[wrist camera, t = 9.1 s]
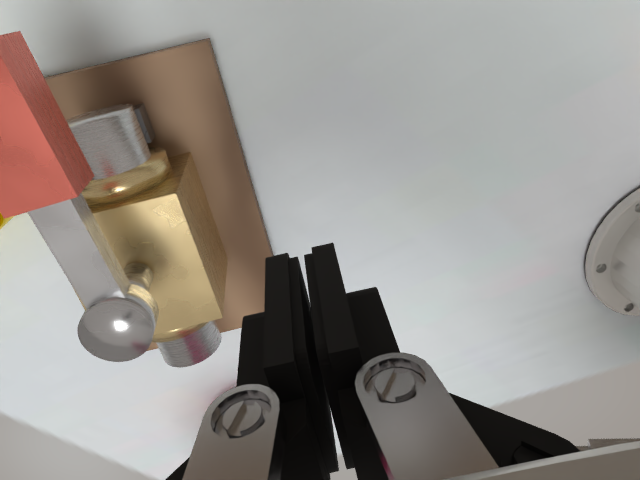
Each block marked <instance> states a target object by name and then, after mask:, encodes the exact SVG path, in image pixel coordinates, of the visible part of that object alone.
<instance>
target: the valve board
mask: <svg viewBox="0 0 640 480" xmlns="http://www.w3.org/2000/svg"><path fill="white" fill-rule="evenodd" d="M44 79H45V81H46V83H47V85H48V86H49V88H50V90H51V92H52V94H53V96H54V98H55V100H56V102H57V104H58V106H59V108H60V110H61V112H62V114H63V116H64V118H65V119H66V120H67V119H70V118H72V117H75V116H78V115H80V114H83V113H86V112H90V111H93V110H97V109H100V108H105V107H109V106H114V105H120V104H131V105H132V106H134V105H138V104H142V103H144V105H145V108H146V111H147V113H148V116H149V119H150V121H151V124H152V127H153V129H154V132H155V135H156V136H155V137H154V139H153V141H152V142H151V143H147V145H148V147H151V146H156V147H162V148H164V149H165V151H166V154H167V157H172V156H176V155H180V154H184V153H188V152H191V154H192V157H193V160H194V163H195V166H196V169H197V171H198V174H199V177H200V180H201V183H202V186H203V189H204V192H205V195H206V197H207V200H208V203H209V206H210V209H211V212H212V215H213V218H214V221H215V223H216V226H217V229H218V232H219V235H220V238H221V241H222V244H223V247H224V249H225V252H226V255H227V258H228V263H227V275H226V287H225V299H224V311H223V318H221V319H217V320H215V321H216V323H217V326H218V329H219V331H220V333H222V332H226V331H230V330H234V329H238V328H242V320H243V317H244V316H247V315H251V314H256V313H260V312H264V304H265V259H266V258H267V257H271V256H273V252H272V249H271V246H270V242H269V239H268V235H267V232H266V229H265V225H264V222H263V218H262V215H261V212H260V208H259V205H258V201H257V198H256V195H255V191H254V188H253V184H252V181H251V178H250V174H249V171H248V167H247V164H246V161H245V157H244V154H243V150H242V147H241V143H240V140H239V137H238V133H237V130H236V126H235V123H234V120H233V116H232V113H231V109H230V106H229V103H228V99H227V96H226V92H225V89H224V86H223V82H222V79H221V75H220V72H219V69H218V65H217V62H216V58H215V55H214V52H213V48H212V45H211V41H210V38H208V39H204V40H200V41H196V42H191V43H187V44H183V45H179V46H175V47H171V48H166V49H162V50H158V51H154V52H150V53H145V54H141V55H137V56H133V57H129V58H124V59H120V60H116V61H112V62H108V63H104V64H99V65H95V66H91V67H87V68H83V69H78V70H74V71H70V72H66V73H62V74H58V75H53V76H49V77H45V78H44ZM157 348H158V346H157V343H154V342H151V344H150V346H149V348H148V349H147V350H146V351H149V350H153V349H157Z"/></svg>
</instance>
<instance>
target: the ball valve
mask: <svg viewBox="0 0 640 480" xmlns="http://www.w3.org/2000/svg"><path fill="white" fill-rule="evenodd" d="M66 121H67V123H68V125H69V127H70V129H71V131H72V133H73V135H74V137H75V139H76V141H77V143H78V145H79V147H80V149H81V150H82V152H83V154H84V156H85V158H86V160H87V162H88V164H89V166H90V168H91V170H92V172H93V174H94V177H93V179H92V180H91V181H90V182H89V184H88V185H87V186H86V187H85V188H84V190H83V191H82V192H81V193H82V195H83V197H84V199H85V200H86V202H87V204H88V206H89V208H90V210H91V212H92V213H93V215H94V217H95V219H96V221H97V223H98V225H99V226H100V228H101V230H102V232H103V234H104V236H105V237H106V239H107V241H108V243H109V245H110V247H111V249H112V250H113V252H114V254H115V256H116V258H117V260H118V262H119V263H120V265H121V267H122V269H123V271H124V273H125V275H126V276H127V278H128V280H129V282H130V284H134V285H137V286H139V287H141V288H143V289H145V290H146V291H147V292H149V293H150V294H151V295H152V296H153V298H154V299H155V301H156V303H157V305H158V309H159V316H158V320H157V324H156V327H155V331H154V334H153V338H152V342H154V343H157V346H158V348H159V350H160V352H161V354H162V356H163V358H164V360H165V362H166V363H167V364H168V365H170V366H173V367H187V366H191V365H194V364H197V363H199V362H201V361H203V360H205V359H206V358H208V357H209V356H211V355H212V354H213V353H214V352H215V351H216V350H217V348H218V347H219V345H220V343H221V334H220V331H219V329H218V326H217V323H216V321H215V320H217V319H221V318H223V311H224V299H225V287H226V275H227V263H228V258H227V255H226V252H225V249H224V247H223V244H222V241H221V238H220V235H219V232H218V229H217V226H216V223H215V221H214V218H213V215H212V212H211V209H210V206H209V203H208V200H207V197H206V195H205V192H204V189H203V186H202V183H201V180H200V177H199V174H198V171H197V169H196V166H195V163H194V160H193V157H192V154H191V152H188V153H184V154H180V155H176V156H172V157H167V154H166V151H165V149H164V148H162V147H156V146H151V147H148V145H147V143H151V142H152V141H153V139H154V137H155V136H156V135H155V132H154V129H153V127H152V124H151V121H150V119H149V116H148V113H147V111H146V108H145V105H144V103H142V104H138V105H134V106H132V105H131V104H120V105H114V106H109V107H105V108H100V109H97V110H93V111H90V112H86V113H83V114H80V115H78V116H75V117H72V118H70V119H67V120H66ZM72 287H73V286H72ZM74 290H75V289H74ZM75 292H76V291H75ZM76 294H77V293H76ZM77 296H78V294H77ZM78 298H79V296H78ZM79 300H80V301H81V299H80V298H79ZM81 303H82V301H81ZM82 305H83V307H84V309H85V310H86V308H85V306H84V304H83V303H82Z"/></svg>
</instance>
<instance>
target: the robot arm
mask: <svg viewBox="0 0 640 480" xmlns="http://www.w3.org/2000/svg"><path fill="white" fill-rule="evenodd" d="M304 258H305V266H306V274H307V282H308V290H309V297H310V302H309V298H308V295H307V291H306V287H305V283H304V279H303V275H302V271H301V267H300V263H299V260H298V257H294V258H289V255H288V253H285V254H280V255H276V256H271V257H267V258H266V259H265V304H264V312H260V313H256V314H251V315H247V316H244V317H243V320H242V330H241V342H240V353H239V365H238V376H237V387H235V388H233V389H231V390H229V391H226V392H225V393H223V394H222V395H221V396H219V397H218V398H216V399H215V401H214V402H213V403H212V404H211V405H210V406H209V407H208V409H207V411H206V413H205V415H204V417H203V420H202V423H201V426H200V429H199V432H198V435H197V438H196V441H195V444H194V447H193V450H192V452H191V455H190V457H189V458H188V459H187V460H186V461H185V462H184V463H183V464H182V465H181V466H180V467H178V468H177V469H176V470H175V471H174V472H173V473H172V474H171V475H170V476H169V477H168V478H167V479H166V480H330V473H332V472H336V471H339V468H338V461H337V453H336V446H335V439H334V432H333V425H332V418H331V412H332V416H333V419H334V423H335V427H336V431H337V435H338V438H339V442H340V446H341V450H342V453H343V457H344V461H345V465H346V468H347V469H350V468H355V470H356V473H357V478H358V480H640V439H639V438H637V439H588V446H574V445H573V444H572V443H571V442H570V441H568V440H566V439H564V438H562V437H560V436H558V435H556V434H554V433H551V432H549V431H546V430H543V429H541V428H538V427H536V426H533V425H531V424H528V423H526V422H523V421H520V420H518V419H515V418H513V417H510V416H507V415H505V414H502V413H500V412H497V411H494V410H492V409H489V408H487V407H484V406H482V405H479V404H477V403H474V402H471V401H469V400H466V399H464V398H461V397H459V396H456V395H453V394H451V393H448V391H447V390H446V388H445V387H444V385H443V384H442V382H441V381H440V380H439V378H438V377H437V375H436V374H435V372H434V371H433V369H432V368H431V367H430V365H429V364H428V363H427V362H426V361H425V360H423V359H421V358H419V357H417V356H415V355H412V354H407V353H400V351H399V348H398V345H397V343H396V340H395V337H394V334H393V331H392V329H391V326H390V323H389V320H388V317H387V315H386V312H385V309H384V306H383V303H382V301H381V298H380V295H379V292H378V290H377V288H376V287H373V288H369V289H364V290H360V291H355V292H350V293H346V292H345V288H344V284H343V280H342V276H341V272H340V268H339V264H338V260H337V256H336V252H335V248H334V244H333V243H330V244H325V245H321V246H316V247H312V254H307V255H304ZM585 272H586V280H587V282H588V285H589V288H590V290H591V291H592V292H593V294H594V295H595V296H596V298H597V299H598V300H600V301H601V302H602V303H603V304H604V305H605V306H606V307H608V308H610V309H611V310H613V311H615V312H618V313H621V314H624V315H633V316H640V189H638V190H636V191H635V192H633V193H631V194H630V195H629V196H628V197H626V198H625V199H624V200H623V201H621V202H620V203H619V204H618V205H617V206H616V207H615V208H614V209H613V210H612V211H611V212H610V213H609V214H608V215H607V216H606V218H605V219H604V221H603V222H602V223H601V225H600V226H599V228H598V229H597V231H596V233H595V235H594V237H593V239H592V241H591V243H590V246H589V249H588V252H587V255H586V264H585ZM310 305H311V306H310ZM330 408H331V411H330Z"/></svg>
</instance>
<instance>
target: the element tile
mask: <svg viewBox="0 0 640 480" xmlns="http://www.w3.org/2000/svg"><path fill="white" fill-rule="evenodd" d="M12 217H13V216H12ZM12 217H9V218H5V219H4V218H3V216H2V214H1V213H0V229H1V228H2V227H3V226H4V225H5V224H6V223H7V222H8V221H9V220H10V219H11V218H12Z"/></svg>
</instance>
